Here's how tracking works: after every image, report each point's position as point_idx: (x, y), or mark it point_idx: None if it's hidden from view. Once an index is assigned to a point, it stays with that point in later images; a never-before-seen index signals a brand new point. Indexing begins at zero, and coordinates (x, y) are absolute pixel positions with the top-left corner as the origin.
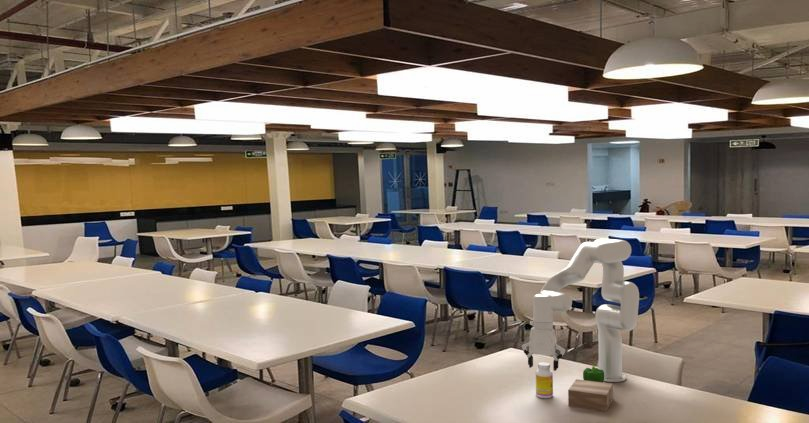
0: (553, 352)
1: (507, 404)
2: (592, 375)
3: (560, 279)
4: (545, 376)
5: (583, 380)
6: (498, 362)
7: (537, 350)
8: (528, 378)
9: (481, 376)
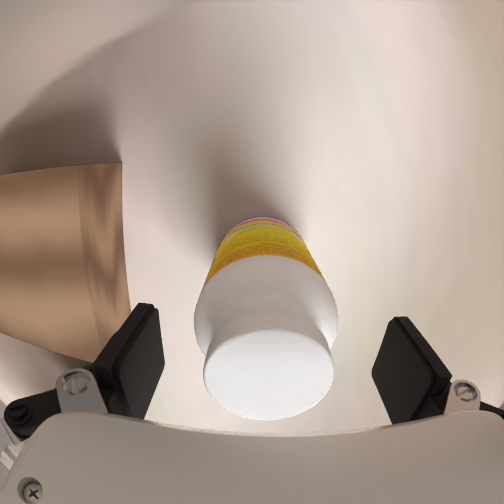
0: (28, 445)
1: (406, 89)
2: None
3: None
4: (239, 260)
5: (73, 353)
6: None
7: (411, 490)
8: (351, 419)
9: (483, 368)
